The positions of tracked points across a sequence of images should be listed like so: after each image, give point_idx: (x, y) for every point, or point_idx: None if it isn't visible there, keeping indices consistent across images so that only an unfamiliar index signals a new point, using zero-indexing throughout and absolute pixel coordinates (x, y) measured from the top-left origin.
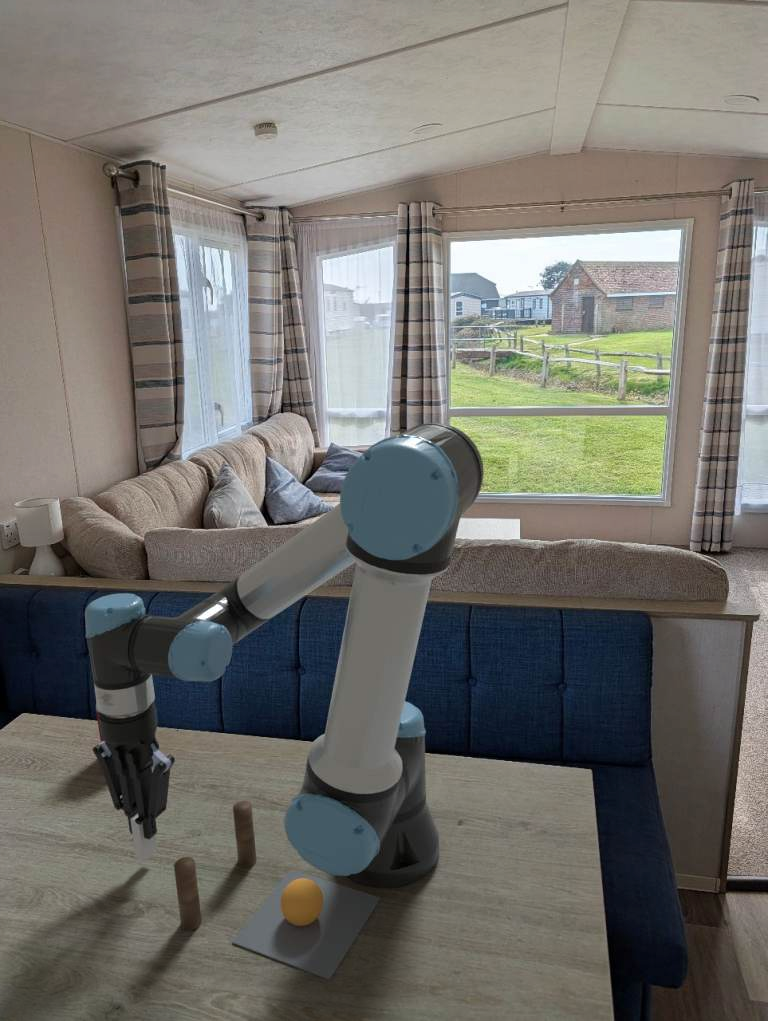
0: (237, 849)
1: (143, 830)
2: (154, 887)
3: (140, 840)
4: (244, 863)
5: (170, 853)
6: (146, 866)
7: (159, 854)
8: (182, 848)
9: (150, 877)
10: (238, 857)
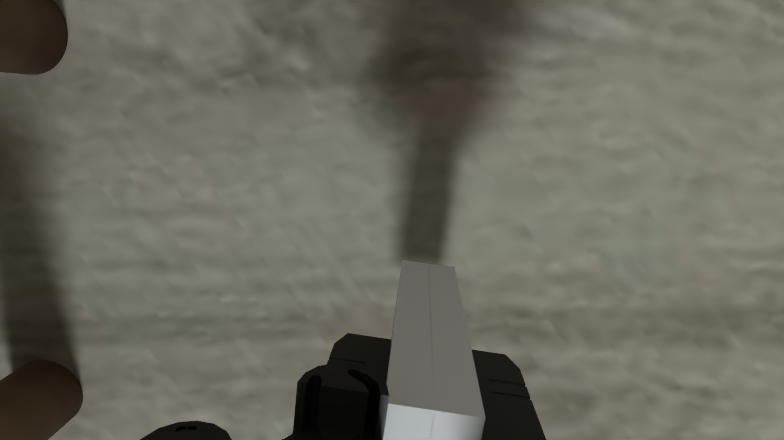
0: (7, 412)
1: (385, 370)
2: (309, 172)
3: (400, 312)
4: (20, 369)
5: None
6: None
7: None
8: None
9: (364, 221)
10: (36, 386)
